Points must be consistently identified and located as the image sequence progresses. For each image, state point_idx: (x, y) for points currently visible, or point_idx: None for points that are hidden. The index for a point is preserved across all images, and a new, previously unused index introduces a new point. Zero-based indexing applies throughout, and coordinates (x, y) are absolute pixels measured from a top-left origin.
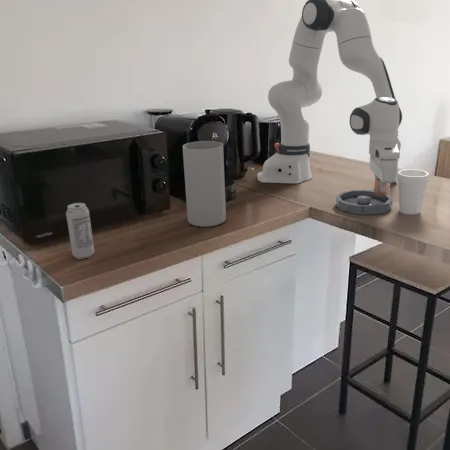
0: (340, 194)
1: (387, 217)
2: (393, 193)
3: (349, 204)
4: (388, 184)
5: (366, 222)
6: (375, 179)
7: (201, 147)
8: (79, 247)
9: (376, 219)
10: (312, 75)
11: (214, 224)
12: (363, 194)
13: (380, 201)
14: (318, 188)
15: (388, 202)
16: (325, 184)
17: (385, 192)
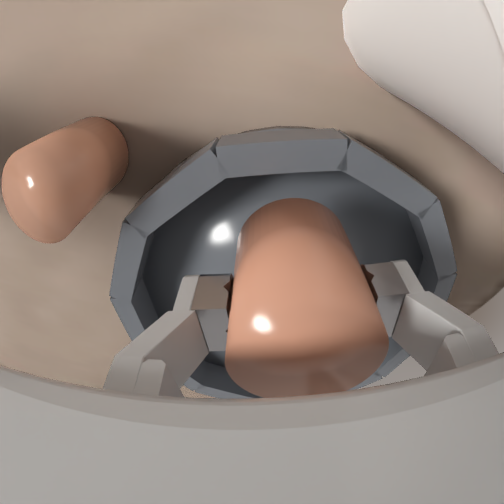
0: (229, 396)
1: (474, 199)
2: (19, 95)
3: (387, 374)
4: (43, 162)
5: (484, 290)
6: (271, 397)
7: None
8: None
9: (477, 252)
10: None
11: None
12: (141, 291)
13: (249, 198)
14: (76, 381)
15: (422, 195)
16: (29, 356)
17: (339, 228)
